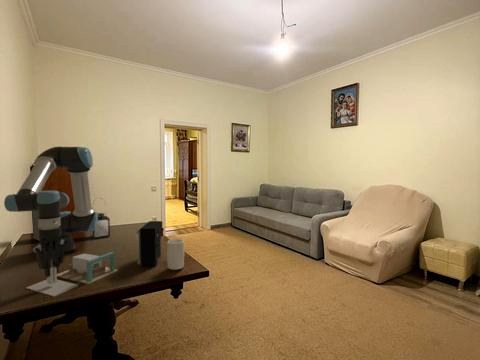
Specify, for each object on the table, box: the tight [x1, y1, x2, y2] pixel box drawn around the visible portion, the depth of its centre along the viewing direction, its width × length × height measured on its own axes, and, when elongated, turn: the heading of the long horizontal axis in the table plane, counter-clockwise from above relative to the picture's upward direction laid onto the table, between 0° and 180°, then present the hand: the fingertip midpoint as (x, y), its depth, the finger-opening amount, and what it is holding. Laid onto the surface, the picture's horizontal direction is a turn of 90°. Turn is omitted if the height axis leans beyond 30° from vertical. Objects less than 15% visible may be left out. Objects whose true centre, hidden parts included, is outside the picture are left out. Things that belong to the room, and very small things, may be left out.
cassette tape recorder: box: [31, 211, 40, 242], centre depth 180 cm, size 14×6×25 cm, turn 58°
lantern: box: [89, 197, 111, 240], centre depth 190 cm, size 11×11×28 cm
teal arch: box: [87, 251, 116, 281], centre depth 121 cm, size 2×13×9 cm, turn 158°
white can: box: [166, 238, 185, 271], centre depth 130 cm, size 8×8×14 cm
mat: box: [25, 279, 79, 298], centre depth 110 cm, size 18×10×1 cm, turn 68°
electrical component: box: [136, 220, 165, 268], centre depth 141 cm, size 18×10×20 cm, turn 5°
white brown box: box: [72, 253, 103, 273], centre depth 125 cm, size 13×6×7 cm, turn 68°
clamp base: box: [57, 263, 119, 285], centre depth 125 cm, size 22×16×4 cm
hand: (52, 282), depth 110 cm, fingers closed
